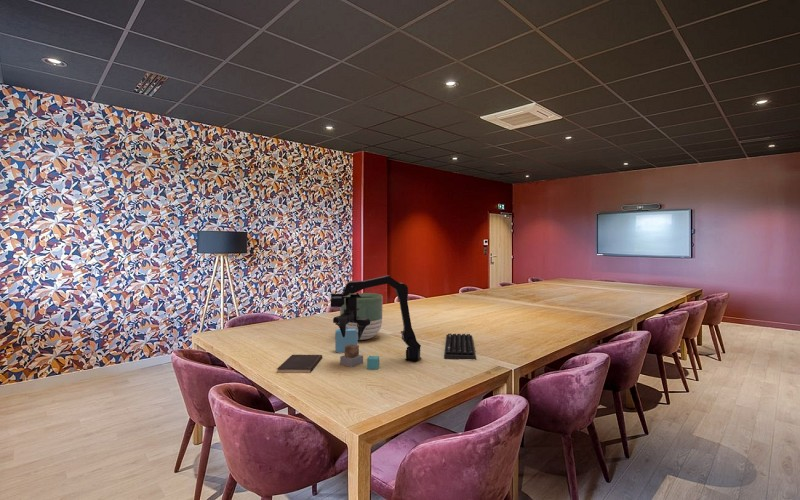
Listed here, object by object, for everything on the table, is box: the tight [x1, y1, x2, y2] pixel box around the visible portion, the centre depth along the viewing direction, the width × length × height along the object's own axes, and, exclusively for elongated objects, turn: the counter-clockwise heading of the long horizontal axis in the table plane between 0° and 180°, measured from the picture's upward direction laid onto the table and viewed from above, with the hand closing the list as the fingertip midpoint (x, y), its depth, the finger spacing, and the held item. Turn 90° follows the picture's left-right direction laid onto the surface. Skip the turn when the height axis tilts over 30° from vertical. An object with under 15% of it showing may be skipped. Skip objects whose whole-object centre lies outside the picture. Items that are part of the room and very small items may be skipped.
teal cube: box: [366, 355, 380, 370], centre depth 185 cm, size 5×5×5 cm
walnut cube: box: [344, 344, 360, 358], centre depth 192 cm, size 5×5×5 cm
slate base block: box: [339, 354, 364, 368], centre depth 192 cm, size 8×8×4 cm
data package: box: [334, 328, 359, 354], centre depth 214 cm, size 12×4×12 cm, turn 100°
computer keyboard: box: [443, 332, 476, 360], centre depth 220 cm, size 45×16×4 cm, turn 172°
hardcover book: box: [276, 354, 323, 374], centre depth 190 cm, size 16×23×2 cm
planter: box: [339, 292, 384, 341], centre depth 242 cm, size 27×27×27 cm
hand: (351, 338), depth 192 cm, fingers open, 9 cm apart
